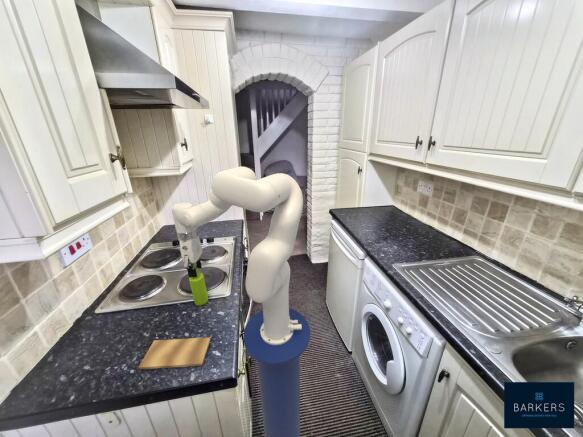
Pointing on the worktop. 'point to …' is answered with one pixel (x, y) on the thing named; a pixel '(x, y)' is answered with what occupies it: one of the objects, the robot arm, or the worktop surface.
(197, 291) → the soap dispenser
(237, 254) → the worktop surface
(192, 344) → the chopping board
